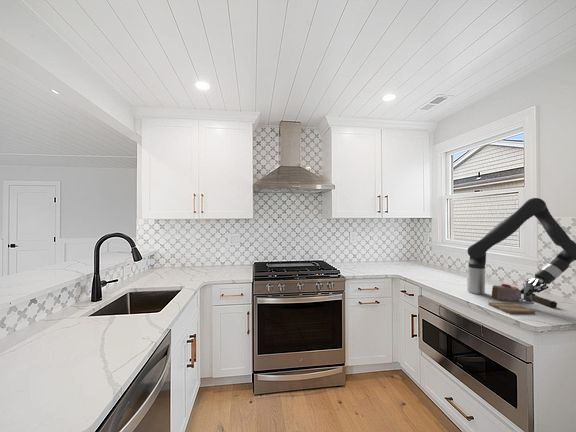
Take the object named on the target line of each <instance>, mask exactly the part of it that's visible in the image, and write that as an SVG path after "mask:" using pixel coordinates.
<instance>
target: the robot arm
mask: <svg viewBox="0 0 576 432" xmlns="http://www.w3.org/2000/svg"><path fill="white" fill-rule="evenodd" d="M532 217H535V218H536V219H537V221H539V224H541V226H542V227H543V229H544V231H545V232H546V234H547V236H549V238H550V240H551V241H552V242H553V244H554V245H555V246H557V247H560V248H561V249H562V251H560V252H558V254H557V255H556V256H555V258H553V259H551V261H550V262H549V263H548V264H546V265H544V266H543V267H541V269H539V270H538V271H537V272H536V273H534V277H532V278H528V277H527V278H525V280H524V282H528V283H532V287H531V289H529V290H528V291H527V292H525V295H526V296H530V295H531V294H532V293H533V294H535V293H537V294H538V293H541V292H543V291H546V290H548V289H549V288H550V287H549V285H550V284H551V283H553V282H554V281H555V280H556V279H558V278H559V277H560V276H561V275H562V274H563V273H564V272H565V271H566V270H568V268H569V267H570V265H571V264H572V263H573V262H574V261H576V242H575V241H574V240H572V239H571V238H570V236H569V235H568V234H567V233H566V231H565V230H564V229H563V228H562V226H561V225H560V224H559V223H558V221H556V219H555V218H554V217H553V216H552V214H551V212H550V210H549V209H548V206H547V203H546V202H545V200H543V199H541V198H538V197H532V198H529V199H528V200H526V201H525V202H524V203H523V204H522V205H521V206H520V207H519V208H518V209H516V210H515V212H513V213H512V214H510V215H508V216H507V217H505V219H503V220H501V221H500V222H499V223H498V224H496V225H495V226H493V228H492V229H490V230H489V232H487V233H486V234H485V235H484V236H483V237H482V238H481V239H479V240H478V241H476V242H474V243H473V244H471V245H469V247H468V248H467V251H466V252H467V254H468V256H469V261H468V274H467V275H468V276H467V291H468V292H469V293H471V294H475V295H485V294H486V263H487V252H488V251H489V250H490V249H491V248H492V247H494V246H495V245H497V244H499V243H501V242H502V241H504V240H506V239H507V238H508V237H510V236H512V235H513V234H514V233H516V232H517V230H519V229H520V228H521V226H522V225H523V224H524V223H526V222H527V221H528V220H529V219H530V218H531V219H532ZM524 282H523V283H522V286H523V287H522V288H521V289H519V290H520V293H521V294H522V295H524Z"/></svg>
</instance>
